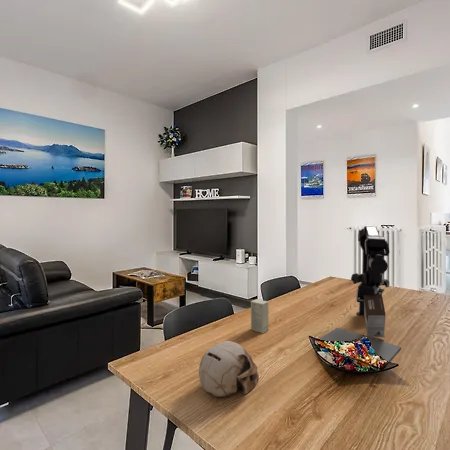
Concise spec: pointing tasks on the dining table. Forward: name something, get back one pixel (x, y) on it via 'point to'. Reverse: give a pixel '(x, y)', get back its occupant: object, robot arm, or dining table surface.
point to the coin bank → (227, 370)
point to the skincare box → (259, 315)
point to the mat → (380, 347)
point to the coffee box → (374, 315)
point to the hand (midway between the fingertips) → (373, 306)
